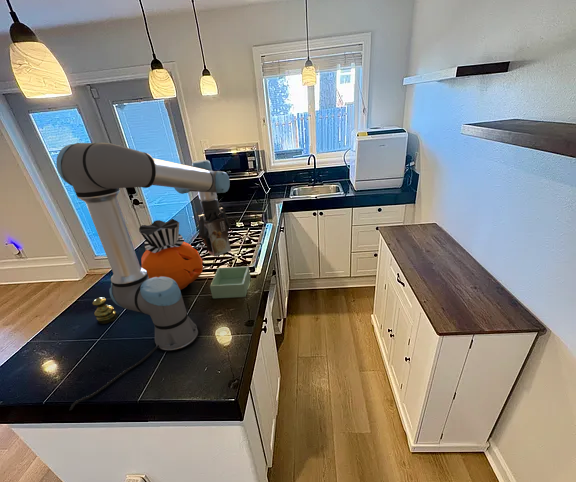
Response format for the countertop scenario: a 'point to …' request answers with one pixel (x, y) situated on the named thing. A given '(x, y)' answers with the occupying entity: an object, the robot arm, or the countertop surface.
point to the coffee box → (218, 236)
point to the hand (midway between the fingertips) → (218, 247)
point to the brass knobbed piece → (104, 311)
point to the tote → (230, 282)
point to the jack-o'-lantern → (169, 253)
